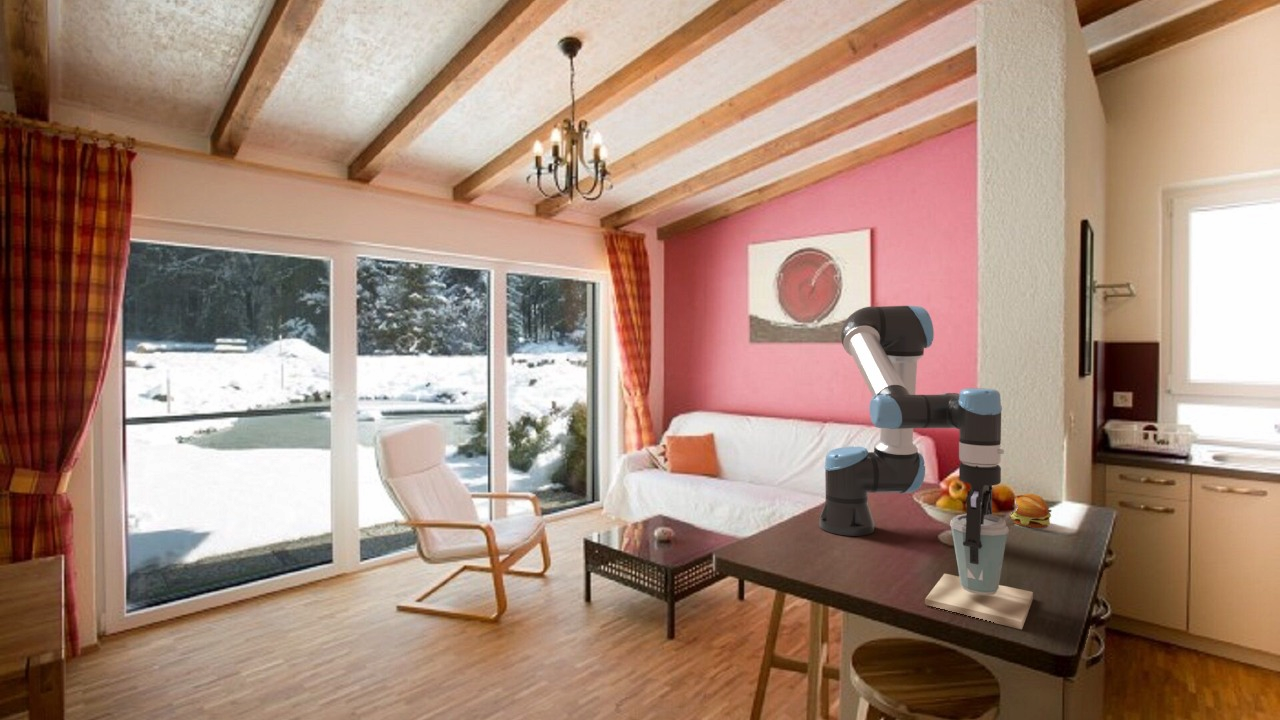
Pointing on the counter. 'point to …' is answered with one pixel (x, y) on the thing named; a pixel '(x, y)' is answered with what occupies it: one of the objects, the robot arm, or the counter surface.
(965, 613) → the birch board
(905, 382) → the robot arm
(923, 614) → the counter surface
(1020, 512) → the cheeseburger
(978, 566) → the disposable coffee cup
